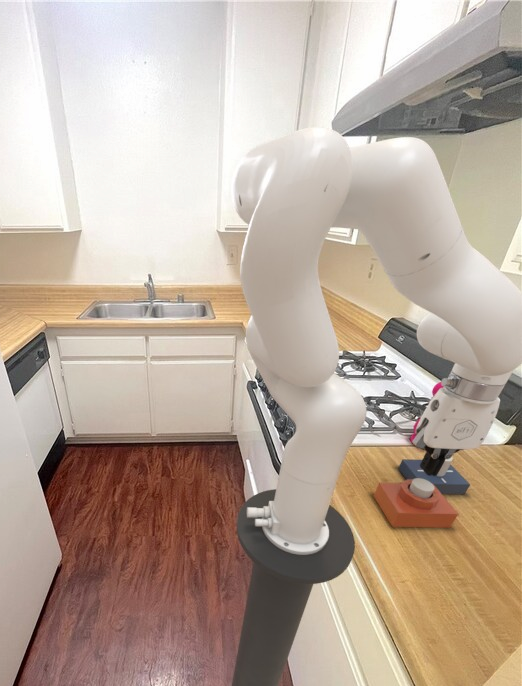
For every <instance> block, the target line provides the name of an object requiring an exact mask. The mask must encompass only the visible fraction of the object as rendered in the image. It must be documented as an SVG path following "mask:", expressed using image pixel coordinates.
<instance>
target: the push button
mask: <svg viewBox="0 0 522 686" xmlns="http://www.w3.org/2000/svg"><path fill="white" fill-rule="evenodd" d="M409 490H410V492H411V493H413V494H414V495H416V496H418V497H421V498H429V497H430V496H431V495H432V493H433V491H434V485H433V484H432V483H431V482H429V481H427V480H425V479H421V478H415V479H413V480H412V483H411V485H410V487H409Z"/></svg>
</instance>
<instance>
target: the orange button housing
mask: <svg viewBox="0 0 522 686" xmlns="http://www.w3.org/2000/svg"><path fill="white" fill-rule="evenodd" d="M412 480H413V479H405V480H403V481H402V482H378V483H377V486H376V489H375V491H374V493H373V498H374V499H375V501H376V503H377V504H378V506H379V508H380V509H381V511H382V512H383V514H384V516H385V517H386V520H387V521H388V522H389V524H390V526H391V527H394V528H445V529H447V528H451V527H452V525H453V524H454V522H455V521H456V519H457V517H458V516H459V512H457V509H455V508H454V507H453V505H452V504H451V503H450V502H449V501H448V499H447V498H446V497H445V496H444V494H441V493H440V491H439V490H438V489H437V488H436V487H435V485H434V484H433V485H434V491H433V493H432V495H431V496H430V497H429V498H421V497H418V496H416V495H414V494H413V493H411V492H410V490H409V487H410V485H411V483H412Z"/></svg>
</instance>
